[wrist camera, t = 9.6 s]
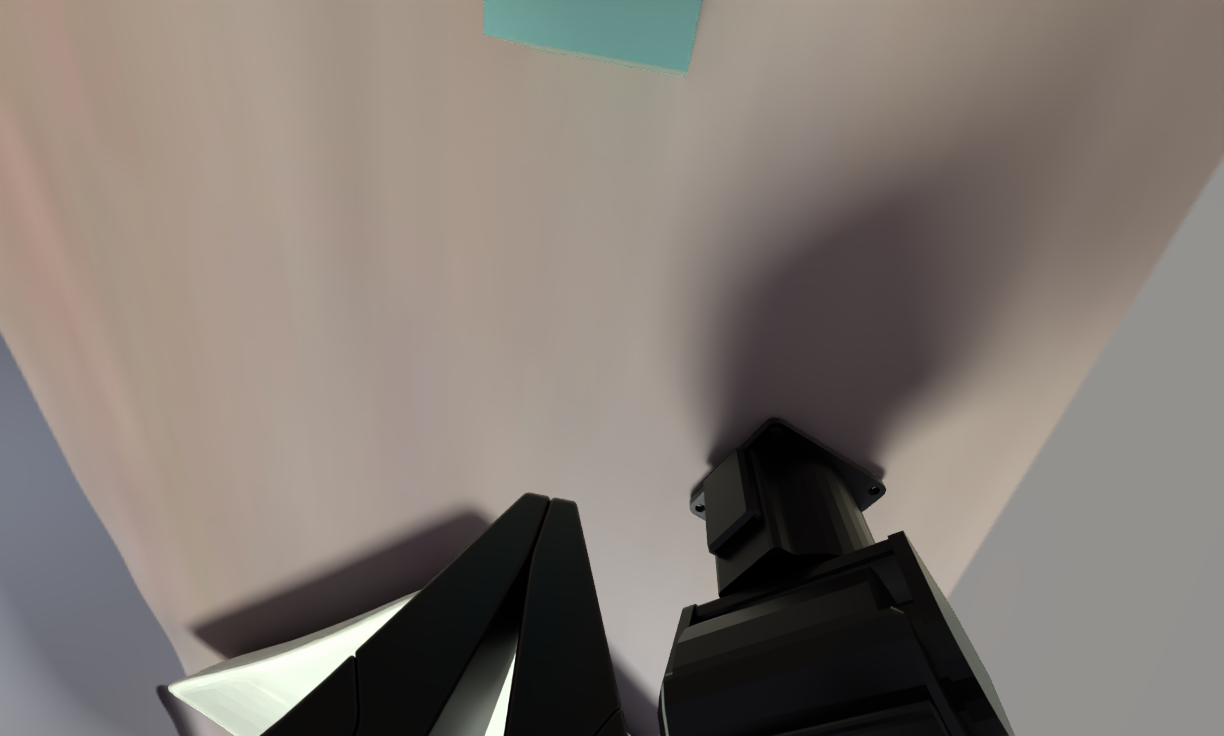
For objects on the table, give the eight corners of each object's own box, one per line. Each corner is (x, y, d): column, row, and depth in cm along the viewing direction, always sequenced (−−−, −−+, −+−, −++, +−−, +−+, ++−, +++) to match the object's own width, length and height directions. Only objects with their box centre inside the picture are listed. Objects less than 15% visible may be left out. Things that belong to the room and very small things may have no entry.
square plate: (201, 639, 37) (153, 695, 34) (484, 524, 28) (457, 584, 24) (439, 808, 47) (420, 864, 43) (706, 764, 38) (709, 831, 34)
